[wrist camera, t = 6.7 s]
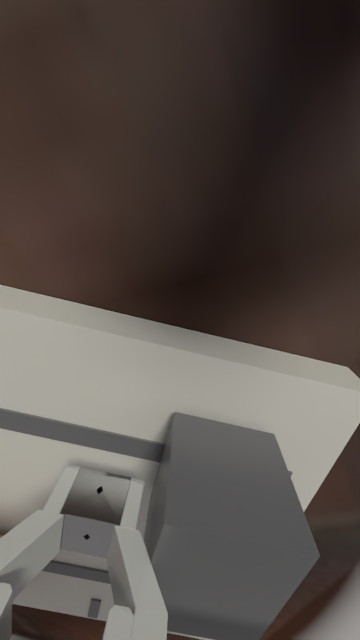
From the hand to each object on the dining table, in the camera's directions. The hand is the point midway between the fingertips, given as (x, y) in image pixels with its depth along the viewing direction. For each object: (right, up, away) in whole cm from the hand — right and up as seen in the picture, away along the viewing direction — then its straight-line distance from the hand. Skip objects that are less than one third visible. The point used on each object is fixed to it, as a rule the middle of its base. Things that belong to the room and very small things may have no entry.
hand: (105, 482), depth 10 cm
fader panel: (-2, -3, +5) cm, 6 cm away
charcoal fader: (+4, 0, +1) cm, 4 cm away
